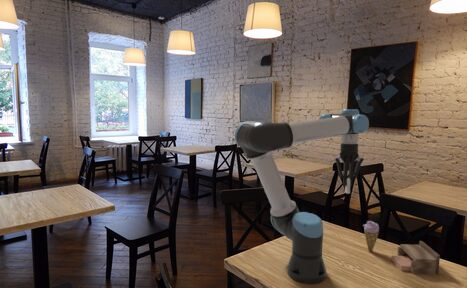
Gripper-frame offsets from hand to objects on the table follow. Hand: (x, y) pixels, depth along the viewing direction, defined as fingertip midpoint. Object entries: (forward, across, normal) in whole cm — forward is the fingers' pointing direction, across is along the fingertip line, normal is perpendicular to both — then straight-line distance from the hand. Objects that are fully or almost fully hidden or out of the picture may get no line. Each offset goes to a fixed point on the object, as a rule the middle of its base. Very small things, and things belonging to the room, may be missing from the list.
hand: (347, 192), depth 143 cm
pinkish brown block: (+27, +22, -16) cm, 39 cm away
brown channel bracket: (+26, +25, -16) cm, 40 cm away
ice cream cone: (+27, +10, -4) cm, 29 cm away
